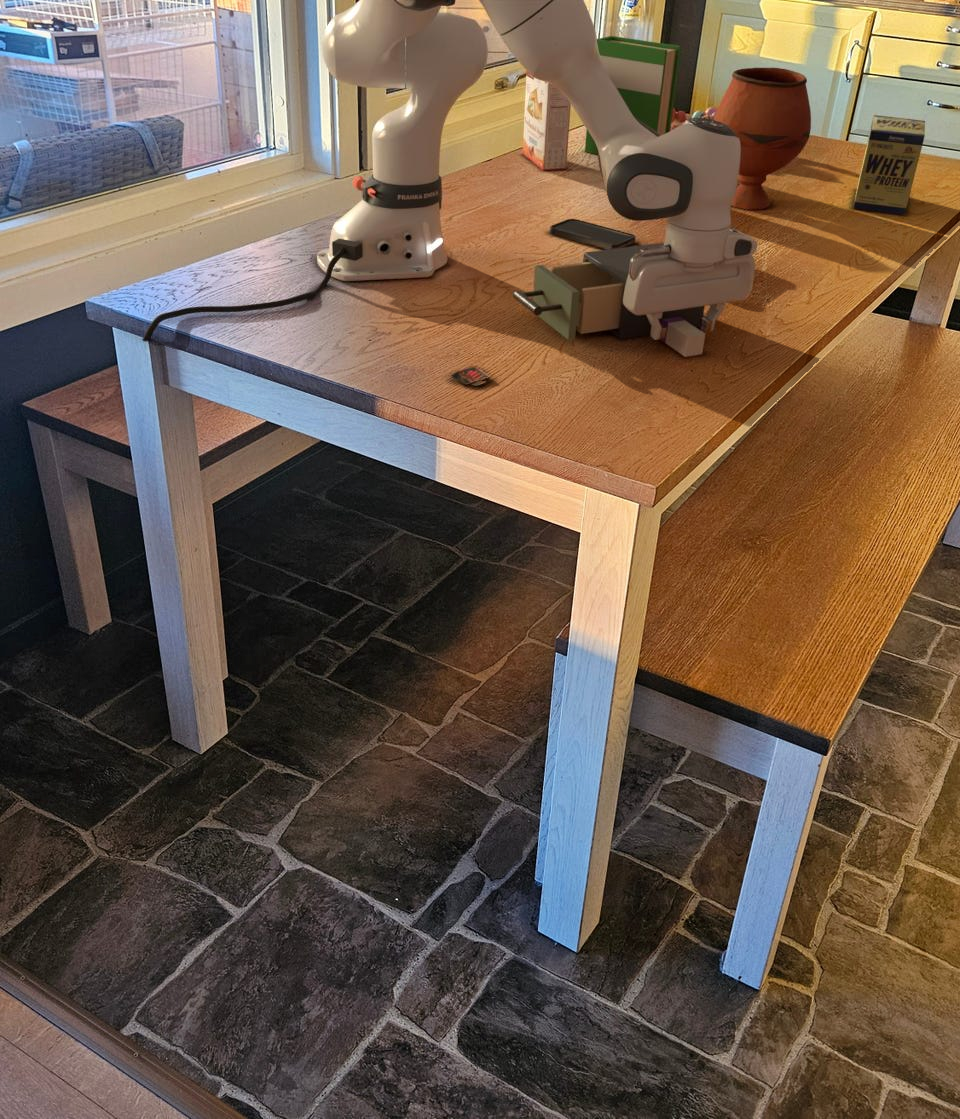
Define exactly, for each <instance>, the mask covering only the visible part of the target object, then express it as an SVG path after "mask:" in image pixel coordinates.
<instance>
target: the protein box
mask: <svg viewBox="0 0 960 1119" xmlns="http://www.w3.org/2000/svg"><path fill="white" fill-rule="evenodd" d="M925 131H926V121H925V120H921V119H914V118H913V119H912V118H906V117H905V118H904V117H895V116H885V115H876V114H874V115H873V118H872V122H871V125H870V130H869V133H868V138H867V142H866V147H865V152H864V154H863V159H862V165H861V169H860V173H859V177H858V182H857V187H856V191H855V196H854V202H853V206H852V208H853V210H854V209H856V210H862V211H872V212H877V213H885V214H891V215H892V214H893V215H900V216H905V215H906V210H907V207H908V204H909V200H910V196H911V192H912V188H913V184H914V180H915V177H916V176H915V175H916V172H917V168H918V164H919V160H920V156H921V152H922V149H923V145H924V140H925V137H926V136H925V135H926V132H925Z"/></svg>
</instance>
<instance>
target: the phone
mask: <svg viewBox="0 0 960 1119" xmlns="http://www.w3.org/2000/svg"><path fill="white" fill-rule="evenodd" d="M549 234H551V235H553V236H558V237H561V238H565V239H568V240H572V241H575V242H579V243H582V244H585V245H589V246H592V247H596V248H600V249H603V250H609V249H617V248H625V247H629V246H631V245H633V244H635V243H636V234H633V233H630V232H626V231H621V230H618V229H614V228H611V227H607V226H603V225H599V224H596V223H591V222H588V221H584V220H582V219H581V220H580V219H577V218H567V219H565V220H562V221H560V222H557V223H554V224H552V225H550V226H549Z"/></svg>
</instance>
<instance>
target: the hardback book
mask: <svg viewBox="0 0 960 1119" xmlns="http://www.w3.org/2000/svg"><path fill="white" fill-rule="evenodd" d="M597 45H598V50H599V54H600V57H601V60H602V63H603V65H604V68H605V70H606V71H607V73H608V75H609V76H610V78H611V80H612V81H613V83H614V85H615V86H616V88H617V90H618V91H619V93H620V95H621V96H622V98H623V100H624V101H625V103H626V105H627V106H628V108H629V109H630V111H631V112H632V114H633V115H634V116H635V117H636V118H637V119H639V120H640V121H641V122H643V123H644V124H646V125H648V126H649V127H651V128H652V129H654V130H655V131H656V132H657V133H658V134H659V135H660V136H661V135H664V134H666V133H668V132H670V129H671V127H672V123H671V121H672V114H673V108H674V104H675V97H676V89H677V82H678V73H679V66H680V59H681V50H682V46H681V45H676V44H670V43H663V42H657V41H656V42H655V41H649V40H644V39H643V40H642V39H637V38H636V39H635V38H630V37H622V36H616V35H608V36H604V37H600V38H599V37H598V38H597ZM584 152H585V153H590V154H594V155H598V150H597V147H596V144H595V142H594V140H593V138H592V136H591V135H590V133H589V132H588V130H587V129H586V132H585V145H584Z"/></svg>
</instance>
